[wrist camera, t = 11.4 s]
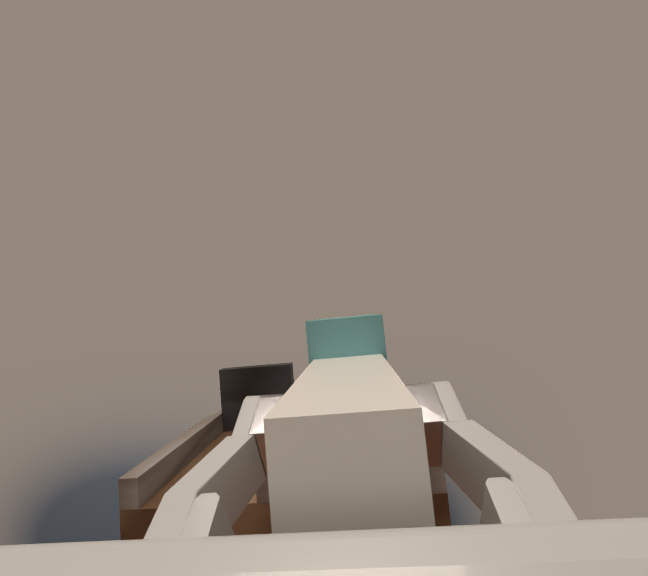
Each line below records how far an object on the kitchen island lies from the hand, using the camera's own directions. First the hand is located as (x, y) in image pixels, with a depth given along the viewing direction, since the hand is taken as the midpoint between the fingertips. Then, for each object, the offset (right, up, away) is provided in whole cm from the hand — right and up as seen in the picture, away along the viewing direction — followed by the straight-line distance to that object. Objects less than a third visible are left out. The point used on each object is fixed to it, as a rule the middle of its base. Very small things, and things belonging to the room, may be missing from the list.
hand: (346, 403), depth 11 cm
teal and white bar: (+1, -2, +6) cm, 7 cm away
